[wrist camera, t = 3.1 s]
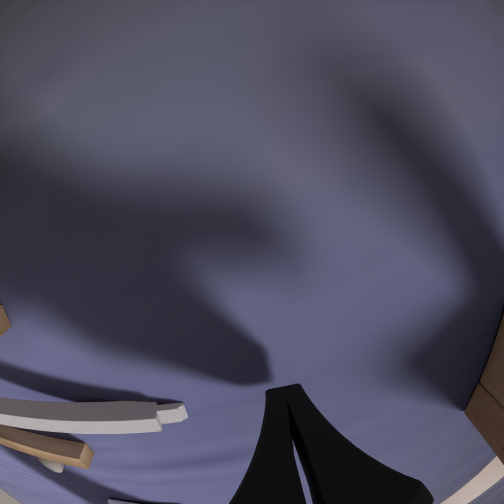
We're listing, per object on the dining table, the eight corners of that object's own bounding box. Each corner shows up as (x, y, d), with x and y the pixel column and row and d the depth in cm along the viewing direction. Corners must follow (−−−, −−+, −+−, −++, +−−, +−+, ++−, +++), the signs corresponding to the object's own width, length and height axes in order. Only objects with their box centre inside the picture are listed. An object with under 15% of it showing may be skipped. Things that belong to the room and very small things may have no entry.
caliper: (-41, 371, 11) (-77, 414, 5) (-46, 360, 11) (-84, 402, 5) (188, 411, 12) (178, 520, 6) (184, 397, 12) (170, 511, 6)
